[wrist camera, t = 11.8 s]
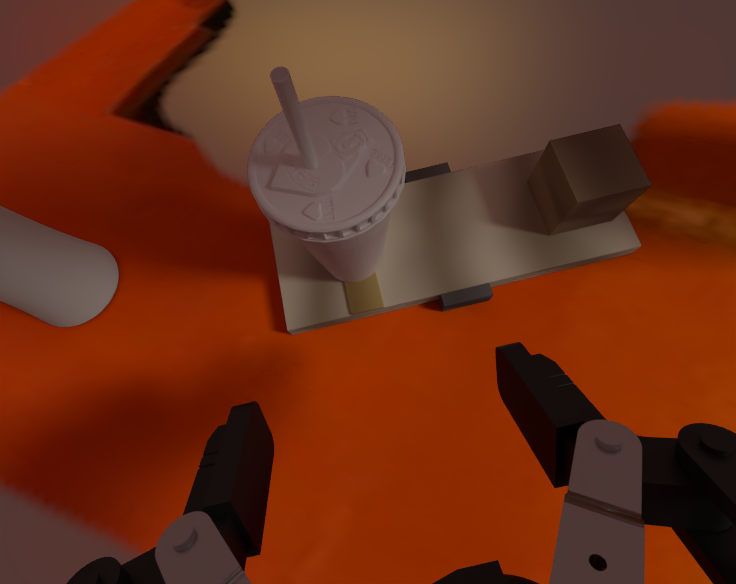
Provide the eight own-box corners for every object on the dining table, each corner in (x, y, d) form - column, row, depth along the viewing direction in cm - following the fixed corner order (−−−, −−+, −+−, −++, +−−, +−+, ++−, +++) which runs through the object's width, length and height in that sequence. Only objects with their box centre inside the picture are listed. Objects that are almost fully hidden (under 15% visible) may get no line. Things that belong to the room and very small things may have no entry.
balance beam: (576, 141, 28) (616, 81, 23) (636, 265, 25) (696, 227, 20) (271, 214, 27) (244, 170, 23) (294, 346, 25) (268, 329, 20)
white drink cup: (285, 240, 25) (157, 45, 12) (370, 192, 26) (339, -45, 13) (332, 323, 23) (244, 201, 10) (424, 269, 24) (453, 87, 11)
